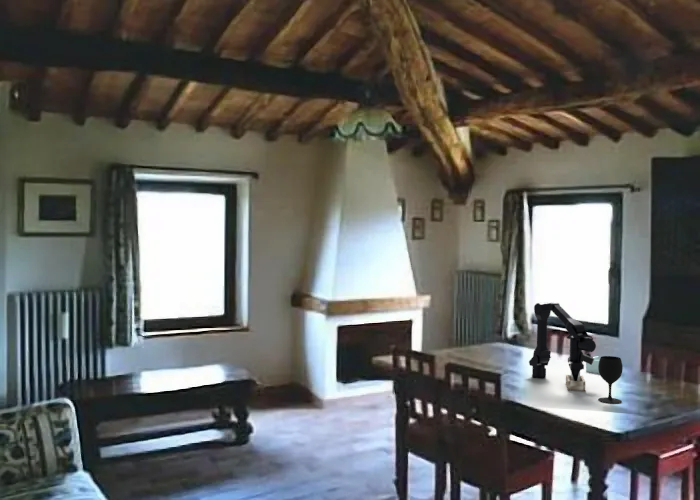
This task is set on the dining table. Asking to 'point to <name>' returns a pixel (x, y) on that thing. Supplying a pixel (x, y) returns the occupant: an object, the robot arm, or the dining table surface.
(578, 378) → the light grey rectangular block
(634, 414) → the dining table surface
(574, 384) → the beige tray
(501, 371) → the dining table surface
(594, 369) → the l-shaped corner panel
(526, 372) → the dining table surface
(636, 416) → the dining table surface
